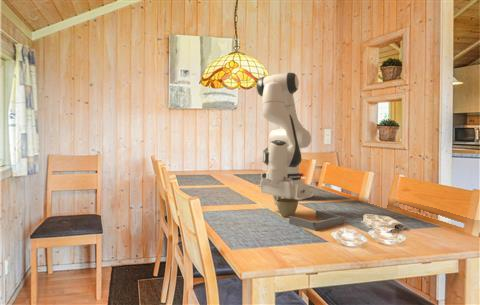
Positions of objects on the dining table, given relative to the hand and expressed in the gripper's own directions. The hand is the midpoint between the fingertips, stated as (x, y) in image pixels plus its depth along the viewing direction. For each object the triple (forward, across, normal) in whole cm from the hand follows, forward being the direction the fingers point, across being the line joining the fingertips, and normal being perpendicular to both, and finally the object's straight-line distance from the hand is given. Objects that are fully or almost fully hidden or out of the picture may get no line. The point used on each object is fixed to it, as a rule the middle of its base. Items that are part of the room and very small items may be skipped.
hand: (277, 205), depth 180 cm
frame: (+3, -23, 0) cm, 24 cm away
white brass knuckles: (+4, -42, -19) cm, 46 cm away
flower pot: (+4, -6, 0) cm, 7 cm away
